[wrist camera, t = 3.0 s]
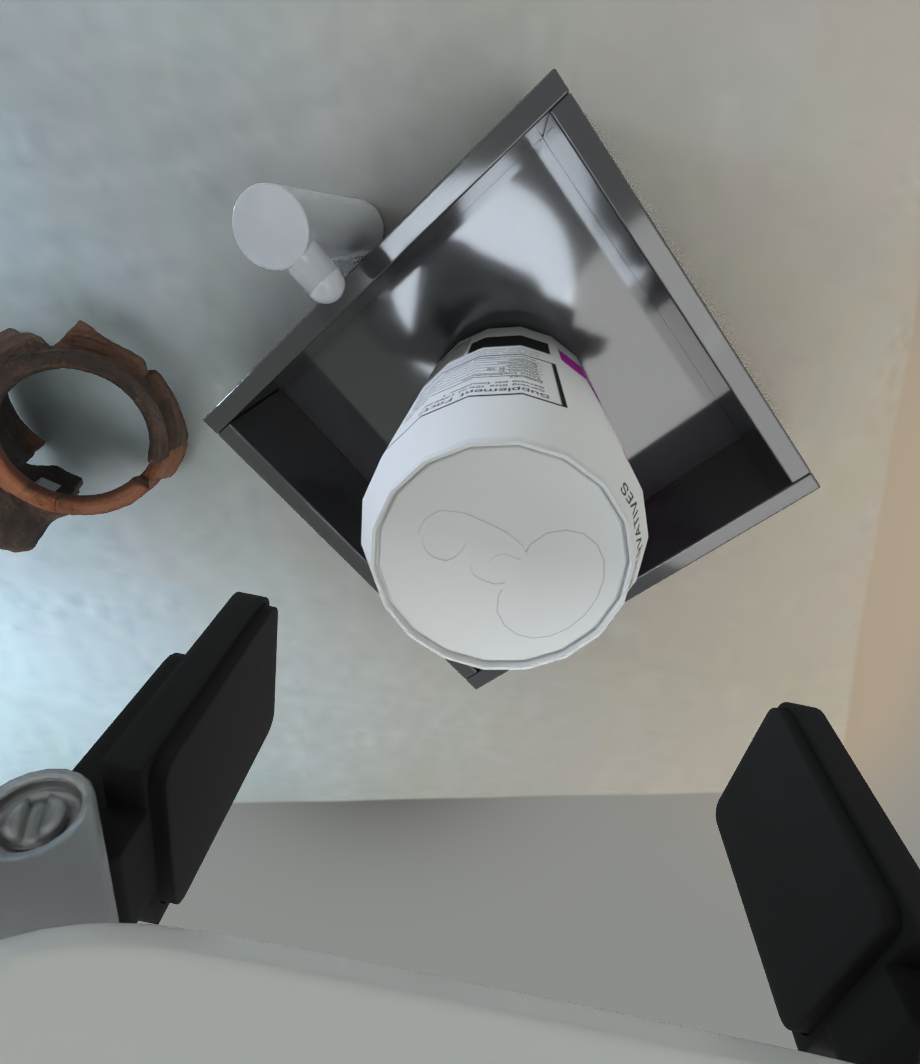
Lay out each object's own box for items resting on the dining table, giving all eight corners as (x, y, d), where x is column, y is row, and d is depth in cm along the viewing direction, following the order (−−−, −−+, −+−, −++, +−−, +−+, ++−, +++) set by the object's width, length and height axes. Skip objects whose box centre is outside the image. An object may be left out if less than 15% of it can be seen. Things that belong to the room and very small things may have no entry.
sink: (215, 340, 29) (69, 394, 19) (501, 35, 23) (491, -102, 13) (482, 619, 35) (469, 764, 26) (765, 439, 29) (886, 542, 19)
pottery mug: (7, 272, 29) (-32, 284, 22) (207, 358, 34) (225, 388, 27) (-61, 494, 31) (-115, 566, 24) (137, 542, 36) (136, 611, 30)
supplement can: (626, 374, 28) (726, 508, 15) (539, 515, 31) (555, 725, 18) (471, 291, 27) (424, 353, 13) (399, 447, 30) (306, 617, 17)
